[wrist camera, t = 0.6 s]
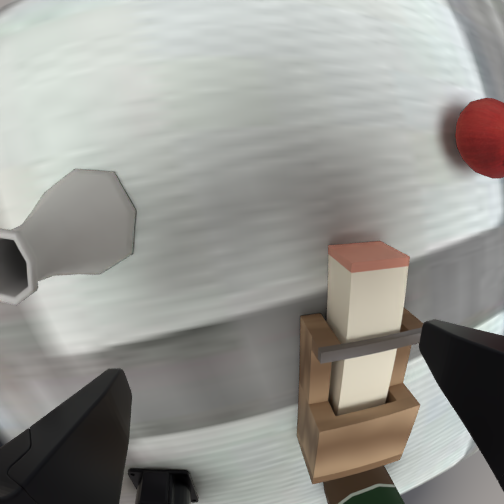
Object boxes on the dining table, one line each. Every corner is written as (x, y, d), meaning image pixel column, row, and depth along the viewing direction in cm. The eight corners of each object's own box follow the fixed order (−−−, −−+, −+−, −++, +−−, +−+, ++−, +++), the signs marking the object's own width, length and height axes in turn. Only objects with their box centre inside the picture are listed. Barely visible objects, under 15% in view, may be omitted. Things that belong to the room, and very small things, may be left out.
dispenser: (374, 418, 27) (399, 459, 21) (296, 435, 26) (312, 484, 21) (396, 301, 24) (439, 336, 18) (300, 315, 23) (326, 361, 17)
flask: (34, 183, 18) (-65, 204, 9) (125, 154, 19) (51, 150, 9) (59, 281, 20) (-17, 352, 11) (149, 263, 21) (104, 341, 11)
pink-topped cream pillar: (362, 393, 26) (380, 422, 22) (320, 402, 26) (334, 434, 22) (380, 240, 22) (409, 256, 18) (328, 245, 22) (351, 262, 18)
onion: (490, 148, 21) (560, 153, 14) (457, 187, 22) (531, 203, 14) (459, 91, 20) (531, 79, 12) (422, 127, 20) (500, 122, 13)
